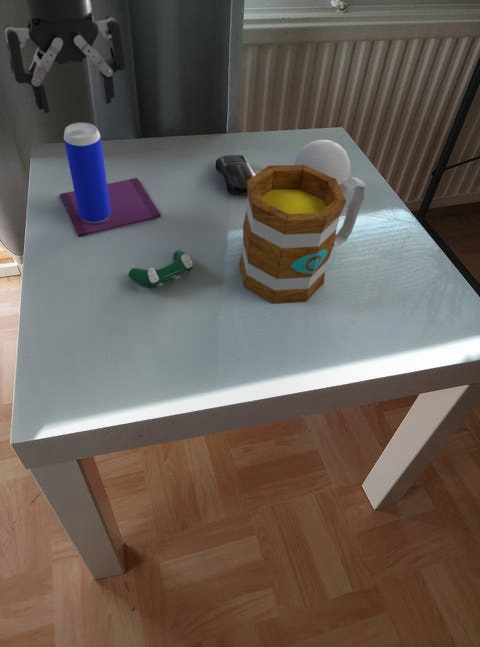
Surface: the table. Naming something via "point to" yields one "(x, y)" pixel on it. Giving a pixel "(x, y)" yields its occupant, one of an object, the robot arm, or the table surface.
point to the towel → (115, 207)
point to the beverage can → (87, 171)
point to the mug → (293, 230)
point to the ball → (325, 159)
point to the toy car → (235, 172)
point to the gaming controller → (162, 271)
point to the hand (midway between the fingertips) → (76, 105)
